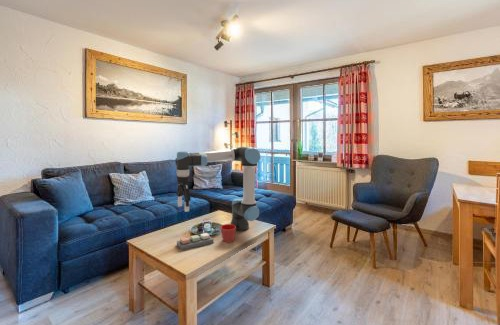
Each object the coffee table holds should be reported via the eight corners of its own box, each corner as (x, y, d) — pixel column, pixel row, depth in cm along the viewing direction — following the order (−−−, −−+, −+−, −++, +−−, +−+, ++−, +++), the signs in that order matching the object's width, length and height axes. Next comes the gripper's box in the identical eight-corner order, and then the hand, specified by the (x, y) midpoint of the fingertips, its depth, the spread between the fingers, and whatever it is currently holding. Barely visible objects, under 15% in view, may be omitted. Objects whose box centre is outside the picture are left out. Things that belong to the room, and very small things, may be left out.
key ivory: (206, 235, 180) (206, 232, 180) (209, 238, 176) (209, 235, 176) (200, 237, 178) (200, 234, 177) (203, 239, 174) (202, 236, 173)
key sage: (197, 237, 176) (197, 234, 176) (199, 240, 172) (199, 237, 172) (190, 239, 174) (190, 236, 174) (193, 241, 170) (193, 238, 170)
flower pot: (221, 243, 174) (221, 230, 173) (220, 237, 185) (220, 224, 183) (236, 242, 176) (236, 228, 175) (234, 236, 187) (234, 223, 186)
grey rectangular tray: (207, 237, 184) (207, 234, 183) (213, 242, 175) (213, 239, 175) (176, 244, 172) (176, 241, 171) (181, 250, 163) (181, 246, 163)
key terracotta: (187, 240, 173) (187, 236, 172) (189, 242, 169) (189, 239, 168) (180, 241, 170) (180, 238, 170) (182, 244, 166) (182, 240, 166)
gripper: (171, 173, 171) (171, 204, 173) (183, 179, 150) (183, 214, 152) (182, 173, 175) (182, 203, 177) (195, 178, 154) (196, 212, 156)
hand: (183, 208), depth 165 cm, fingers open, 13 cm apart
